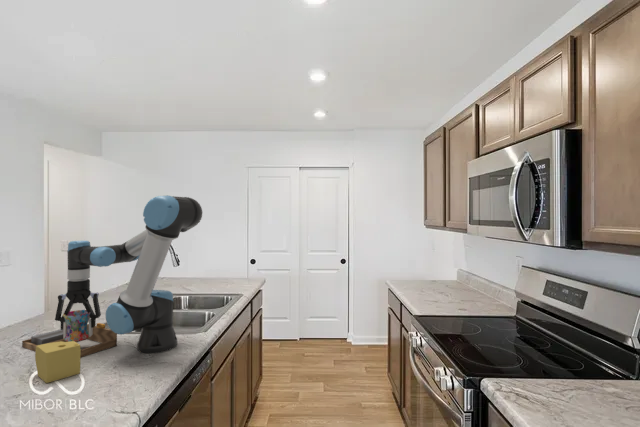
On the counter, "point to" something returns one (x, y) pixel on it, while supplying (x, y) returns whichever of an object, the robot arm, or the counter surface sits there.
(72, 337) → the mug
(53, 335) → the rack
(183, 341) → the counter surface
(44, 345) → the cheese
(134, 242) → the robot arm
